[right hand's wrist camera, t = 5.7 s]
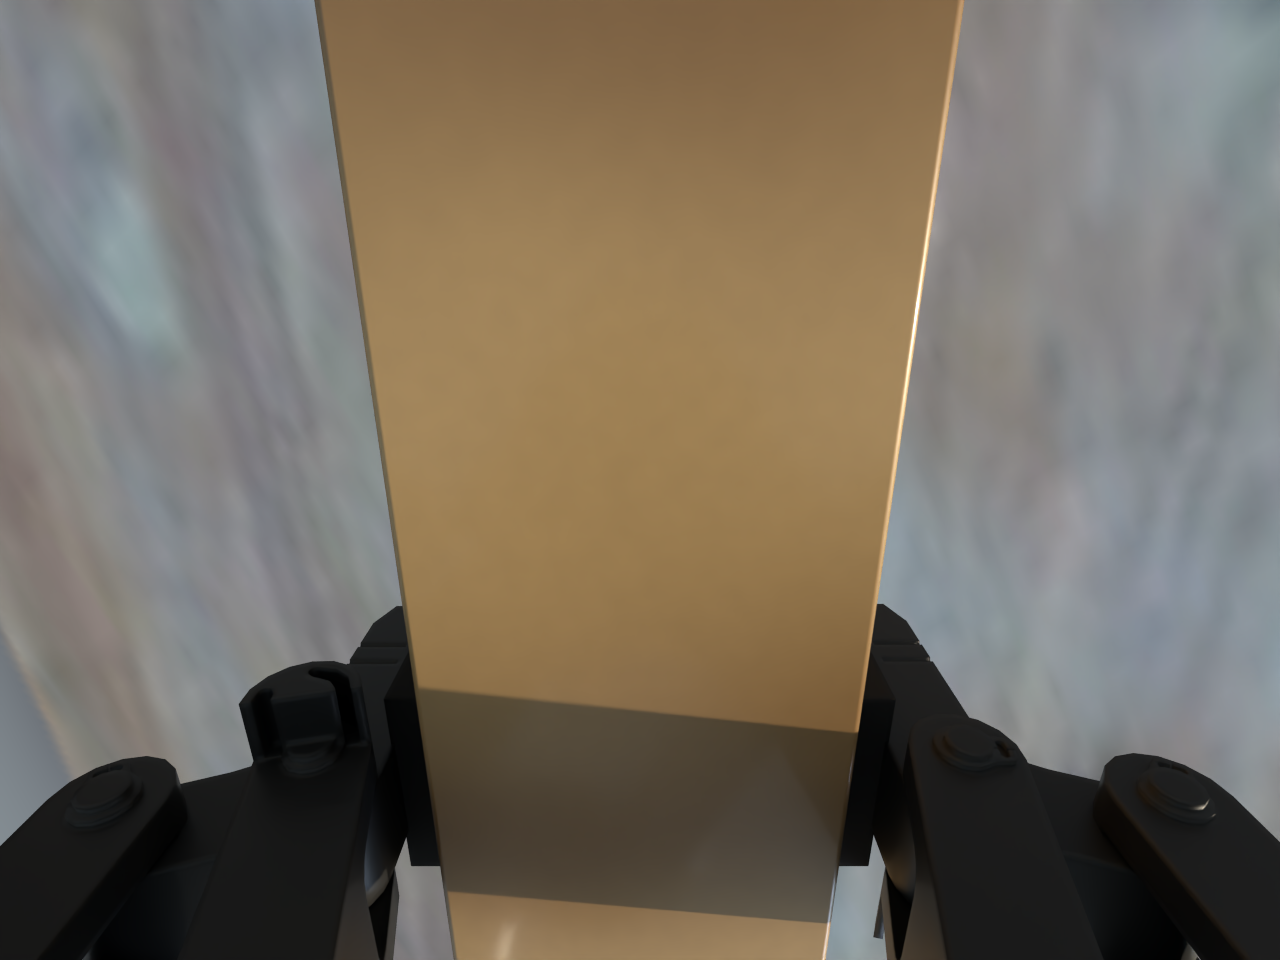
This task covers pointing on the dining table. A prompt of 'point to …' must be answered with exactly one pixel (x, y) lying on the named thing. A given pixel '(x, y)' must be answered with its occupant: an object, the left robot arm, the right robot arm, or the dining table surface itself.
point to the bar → (639, 436)
